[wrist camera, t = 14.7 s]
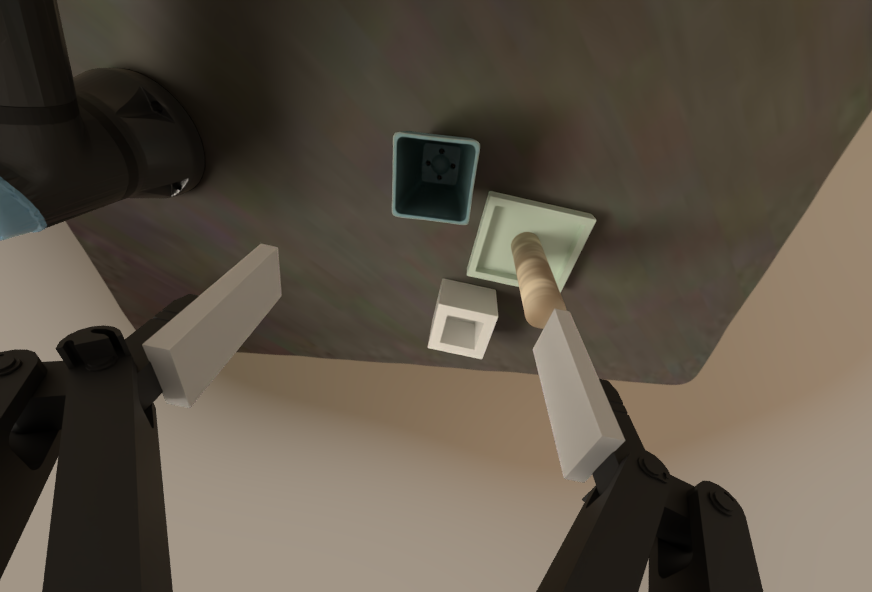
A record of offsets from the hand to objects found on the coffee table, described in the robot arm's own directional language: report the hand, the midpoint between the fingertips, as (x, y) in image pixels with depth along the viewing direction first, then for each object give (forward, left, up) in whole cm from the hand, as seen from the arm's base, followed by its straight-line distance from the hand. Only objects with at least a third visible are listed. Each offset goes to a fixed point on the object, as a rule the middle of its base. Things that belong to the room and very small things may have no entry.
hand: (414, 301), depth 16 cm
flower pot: (-1, -1, -32) cm, 32 cm away
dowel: (+13, -9, -31) cm, 34 cm away
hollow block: (+7, -22, -32) cm, 39 cm away
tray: (+13, -9, -32) cm, 35 cm away
